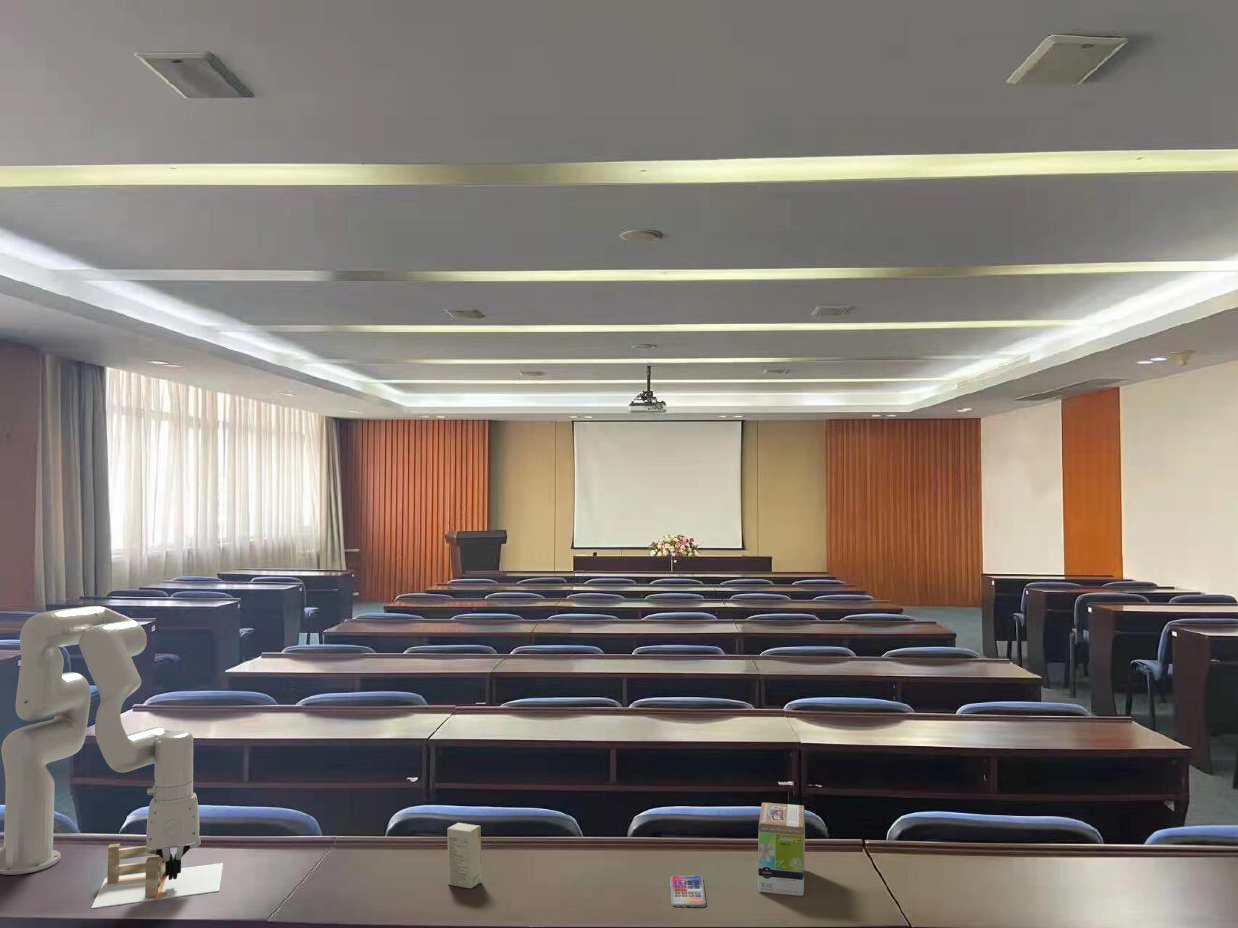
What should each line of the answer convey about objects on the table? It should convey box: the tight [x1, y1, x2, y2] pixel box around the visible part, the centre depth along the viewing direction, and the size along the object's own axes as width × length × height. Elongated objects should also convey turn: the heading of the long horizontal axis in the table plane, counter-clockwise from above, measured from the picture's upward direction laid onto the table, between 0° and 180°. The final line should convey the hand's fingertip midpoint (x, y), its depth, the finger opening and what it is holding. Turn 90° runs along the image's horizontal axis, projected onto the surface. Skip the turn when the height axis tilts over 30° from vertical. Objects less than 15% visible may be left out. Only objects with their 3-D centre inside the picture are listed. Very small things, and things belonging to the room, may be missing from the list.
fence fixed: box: [106, 842, 168, 884], centre depth 201 cm, size 12×2×9 cm, turn 110°
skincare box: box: [446, 822, 482, 889], centre depth 199 cm, size 6×4×12 cm
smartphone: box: [669, 875, 707, 908], centre depth 194 cm, size 7×1×15 cm
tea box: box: [757, 802, 806, 897], centre depth 200 cm, size 15×10×15 cm
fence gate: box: [145, 854, 165, 897], centre depth 196 cm, size 11×2×8 cm, turn 15°
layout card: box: [91, 862, 224, 910], centre depth 197 cm, size 24×16×1 cm
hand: (173, 877), depth 196 cm, fingers closed
